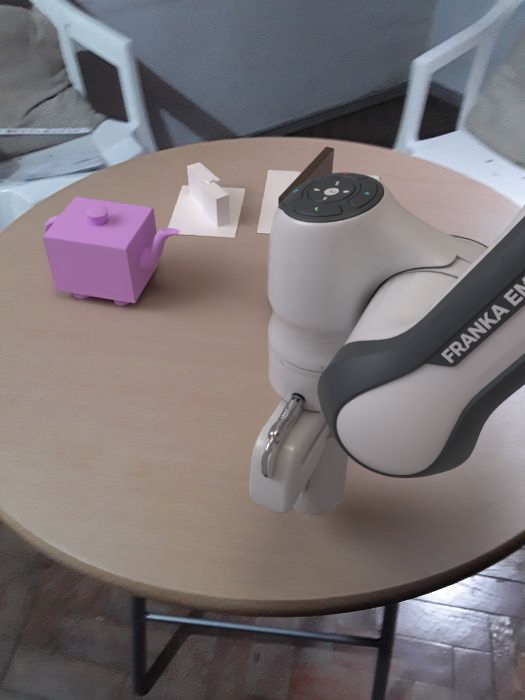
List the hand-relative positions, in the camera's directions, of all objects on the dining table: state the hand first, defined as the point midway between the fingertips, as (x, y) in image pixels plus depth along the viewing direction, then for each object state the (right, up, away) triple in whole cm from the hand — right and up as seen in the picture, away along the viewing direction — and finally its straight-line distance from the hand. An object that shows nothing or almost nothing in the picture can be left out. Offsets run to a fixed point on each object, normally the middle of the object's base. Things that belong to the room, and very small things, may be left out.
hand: (314, 460), depth 66 cm
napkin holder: (-14, +34, +48) cm, 61 cm away
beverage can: (0, -4, +4) cm, 5 cm away
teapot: (-26, +20, +34) cm, 47 cm away
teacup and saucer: (+5, +36, +50) cm, 61 cm away
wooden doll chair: (+6, +16, +30) cm, 35 cm away
